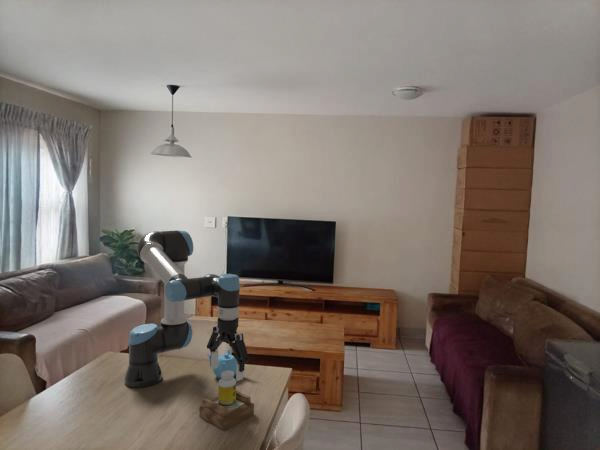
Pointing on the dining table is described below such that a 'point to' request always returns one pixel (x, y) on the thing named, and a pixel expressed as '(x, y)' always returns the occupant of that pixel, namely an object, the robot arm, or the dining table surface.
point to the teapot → (225, 364)
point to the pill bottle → (227, 389)
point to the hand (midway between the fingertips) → (226, 373)
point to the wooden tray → (227, 411)
